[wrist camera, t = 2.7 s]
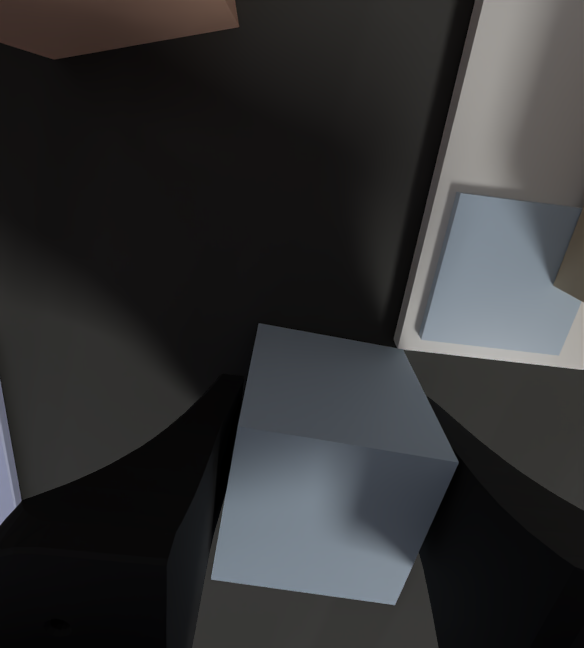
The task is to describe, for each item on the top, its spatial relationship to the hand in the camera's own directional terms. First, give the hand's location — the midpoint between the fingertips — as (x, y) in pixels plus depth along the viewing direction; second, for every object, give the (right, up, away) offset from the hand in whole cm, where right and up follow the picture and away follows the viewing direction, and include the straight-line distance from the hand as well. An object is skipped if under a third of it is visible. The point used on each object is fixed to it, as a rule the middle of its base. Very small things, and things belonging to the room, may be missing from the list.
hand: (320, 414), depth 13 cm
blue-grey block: (0, 0, +1) cm, 1 cm away
